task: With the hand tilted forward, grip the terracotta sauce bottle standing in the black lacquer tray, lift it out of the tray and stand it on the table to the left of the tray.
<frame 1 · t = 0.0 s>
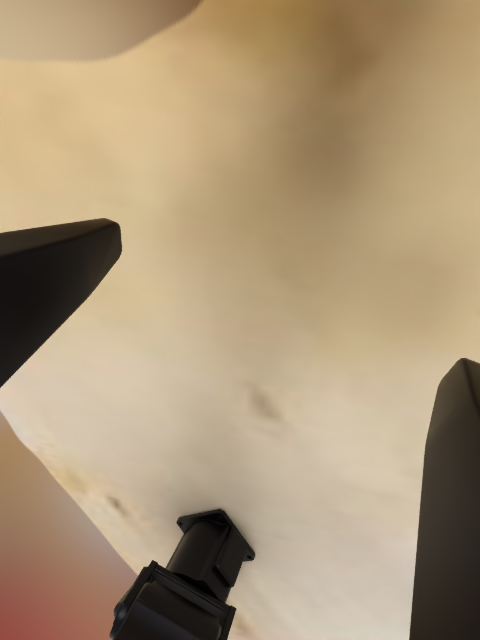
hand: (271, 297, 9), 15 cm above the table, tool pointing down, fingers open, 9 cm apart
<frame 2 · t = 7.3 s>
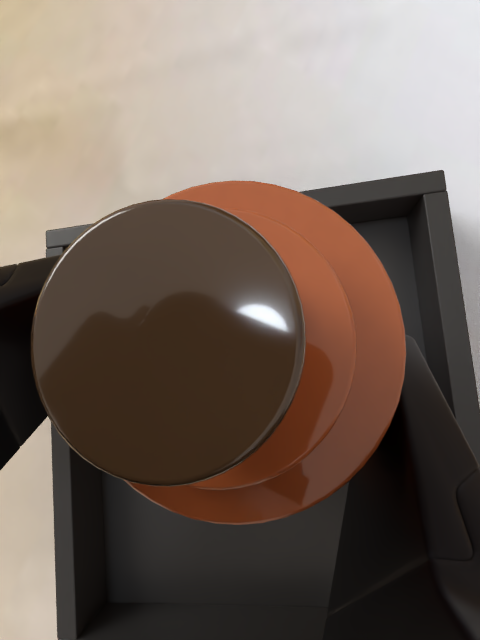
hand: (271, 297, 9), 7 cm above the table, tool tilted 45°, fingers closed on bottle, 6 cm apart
bottle: (271, 351, 16), point 1 cm above the table, touching gripper, tray
tray: (255, 411, 16), on the table
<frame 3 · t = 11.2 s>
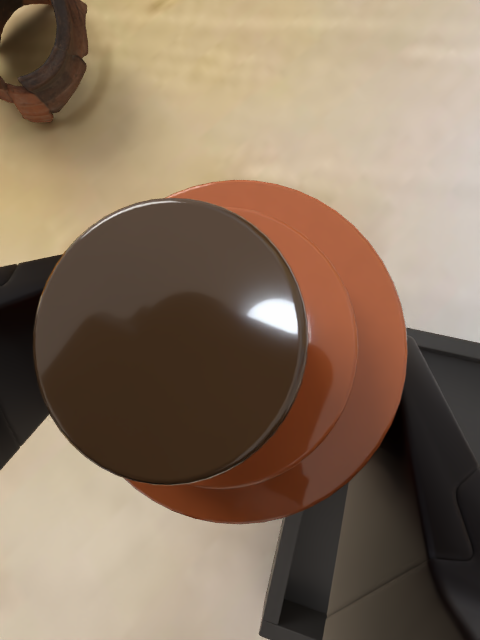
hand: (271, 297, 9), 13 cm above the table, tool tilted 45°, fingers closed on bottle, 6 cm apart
bottle: (272, 350, 16), point 7 cm above the table, touching gripper
brown looped piece: (35, 69, 27), on the table
tray: (439, 496, 20), on the table
when the fingers open (7 cm above the table, at t = 14.9 s): bottle stays where it is, on the table.
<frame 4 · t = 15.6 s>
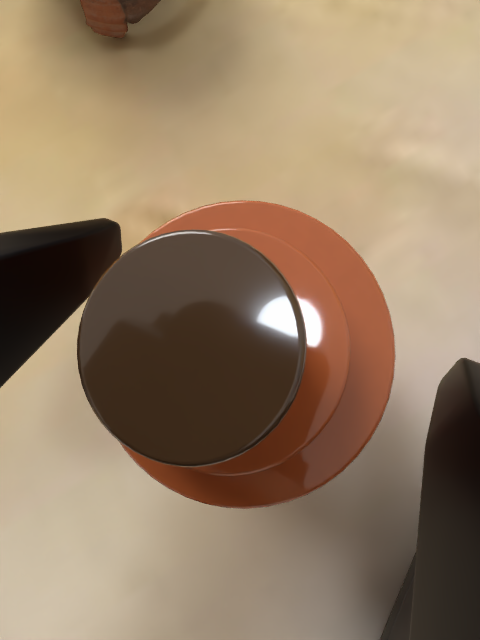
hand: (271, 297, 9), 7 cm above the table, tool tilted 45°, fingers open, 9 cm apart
bottle: (273, 352, 17), on the table
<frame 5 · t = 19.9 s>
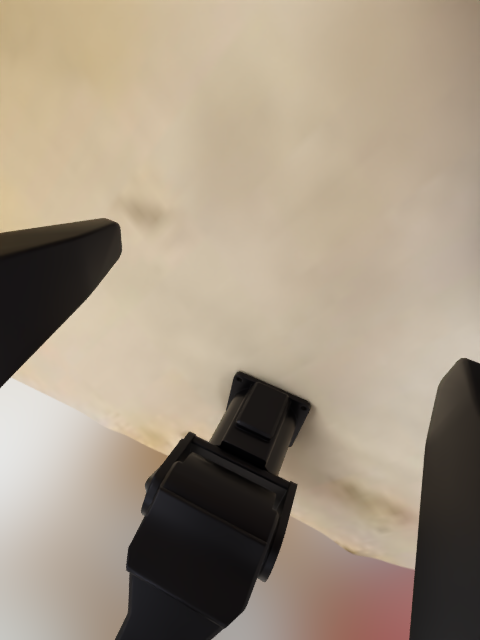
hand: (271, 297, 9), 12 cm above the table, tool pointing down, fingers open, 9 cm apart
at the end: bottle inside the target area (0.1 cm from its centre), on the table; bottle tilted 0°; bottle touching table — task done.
